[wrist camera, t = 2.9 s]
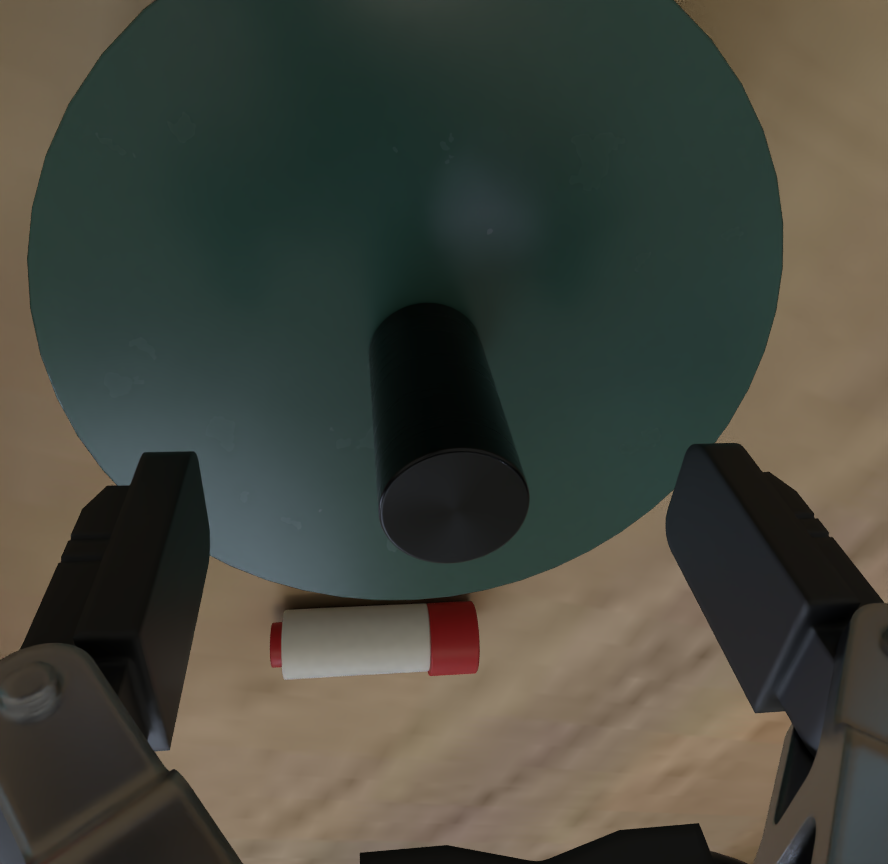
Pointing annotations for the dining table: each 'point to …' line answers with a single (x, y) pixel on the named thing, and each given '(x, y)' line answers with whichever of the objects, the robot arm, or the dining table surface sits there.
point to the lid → (407, 275)
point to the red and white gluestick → (377, 640)
